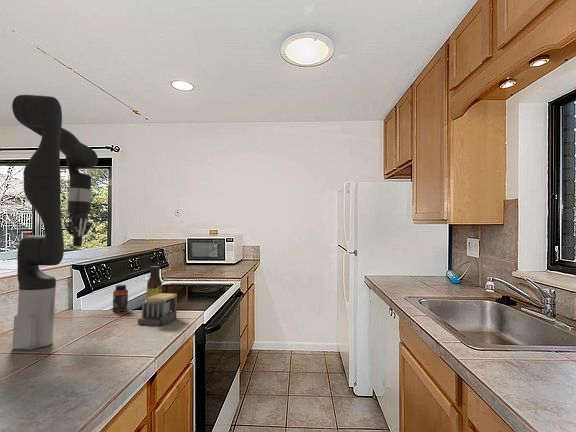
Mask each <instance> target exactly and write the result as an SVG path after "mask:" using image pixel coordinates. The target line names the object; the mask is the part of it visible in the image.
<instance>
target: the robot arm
mask: <svg viewBox="0 0 576 432" xmlns="http://www.w3.org/2000/svg"><path fill="white" fill-rule="evenodd" d="M11 108H12V113H13V116H14V118H15V119H16V120H17V122H18V123H20V124H21V125H22V126H23V127H26V128H27V129H29V130H31V131H32V132H34V133H36V134H37V135H38V136H40V137H41V139H40V143H39V145H38V148H36V150H35V152H34V153H33V154H32V156H31V157H30V159H28V161H27V163H26V164H25V166H24V169H23V193H24V195H25V198H26V199H27V201H28V202H29V204H30V205H31V206H32V208H33V209H34V211H36V214H38V215H39V218H40V219H41V222H42V225H43V229H44V235H25V236H24V237H22V238H21V239H20V241H19V243H18V247H17V252H16V253H17V256H16V257H17V261H16V262H17V275H16V276H17V281H18V295H17V297H18V299H17V311H16V312H17V315H15V316H14V317H13V327H12V328H13V331H12V347H11V349H12V350H13V349H14V350H25V351H26V350H28V351H31V350H36V349H39V348H44V347H47V346H49V345H52V344H53V343H54V326H55V325H54V324H55V307H56V289H57V286H56V285H57V279H56V277H54V276H52V275H49V274H46V273H45V272H43V271H42V270H41V269H40V267H39V266H43V267H44V266H45V267H46V266H52V267H53V266H57V265H59V264H60V263H61V262H62V260H63V258H64V253H65V244H64V243H65V242H64V234H63V225H64V227H65V229H66V230H67V232H68V235H69V236H72V238H73V241H72V245H73V247H75V248H76V247H79V248H80V247H82V246H83V245H82V244H83V237H84V236H86V235H88V233H89V231H90V229H91V228H92V226H93V222H90V221H89V214H91V210H92V209H91V208H92V176H91V175H90V174H88V173H83V172H81V171H80V169H79V168H85V169H86V168H88V169H91V168H92V169H93V168H94V167H96V166H97V165H98V163H99V157H98V154H97V153H96V151H95V150H94V149H93V148H91V147H90V146H88V145H86V144H84V143H83V142H81V141H80V140H79V139H78V138H77V137H76V136H75V134H73V133H72V132H71V131H69V130H68V129H65V128H64V127H62V126H63V113H62V106H61V104H60V101H59V100H58V99H57V98H56V97H55V96H51V95H43V94H42V95H39V94H19V95H16V96H15V97H14V98H13V100H12V104H11ZM61 153H62V154H63V155H64V156H65V162H66V166H67V168H68V174H69V190H68V198H67V213H68V214H69V215H68V220H65V221H63V224H62V212H61V211H62V210H61V209H62V207H61V192H62V191H61V189H62V185H61V184H62V183H61V179H62V178H61V177H62V175H61V158H60V157H61V156H60V155H61Z"/></svg>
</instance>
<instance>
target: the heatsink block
mask: <svg viewBox="0 0 576 432" xmlns="http://www.w3.org/2000/svg"><path fill="white" fill-rule="evenodd" d="M171 312H172V300H171V301H170V300H169V301H168V302H167V301H162V302H161V301H159V302H156V301H153V302H151V301H148V302H146V301H144V302H142V304H141V319H161V317H163V316H165V315H167V314H169V313H171Z"/></svg>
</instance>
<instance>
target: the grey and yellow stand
mask: <svg viewBox="0 0 576 432" xmlns="http://www.w3.org/2000/svg"><path fill="white" fill-rule="evenodd" d="M170 300H171V313H169V314H167V315H165V316H163V317H161V319H142V317H141V318H138V319H137V325H138V324H144V325H143V326H156V325H158V326H159V325H160V326H159V327H164V326H165V325H168V324H170V323H171V322H173V321H175V320H177V308H178V307H177V305H178V294H177V293H168V292H167V293H164V292H162V293H160V294H157V295H154V296H151V297H148V298H147V301H162V302H164V301H166V302H167V301H170ZM167 323H168V324H167ZM158 326H157V327H158Z"/></svg>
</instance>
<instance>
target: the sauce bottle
mask: <svg viewBox="0 0 576 432" xmlns="http://www.w3.org/2000/svg"><path fill="white" fill-rule="evenodd" d="M160 270H161V266H159V265H156V266H155V265H154V266H150V267H149V272H150V273H149V276H150V277H149V278H148V280H147V282H146V296H145V297H146V301H145V302H148V301H147V298H148V297H151V296H154V295H157V294H160V293H163V292H162V291H163V283H162V280H161V276H160ZM151 302H153V301H151ZM156 302H159V301H156ZM162 302H163V301H161V303H162Z"/></svg>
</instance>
